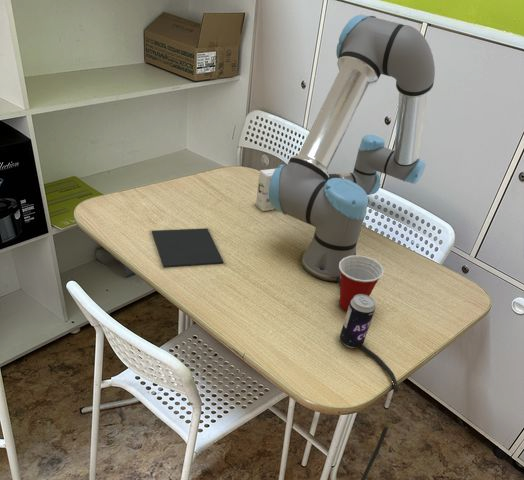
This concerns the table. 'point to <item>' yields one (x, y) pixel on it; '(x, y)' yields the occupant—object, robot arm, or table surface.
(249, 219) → the table surface
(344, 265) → the plastic cup
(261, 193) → the ink box
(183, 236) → the mat
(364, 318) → the beverage can
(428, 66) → the robot arm
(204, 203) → the table surface
